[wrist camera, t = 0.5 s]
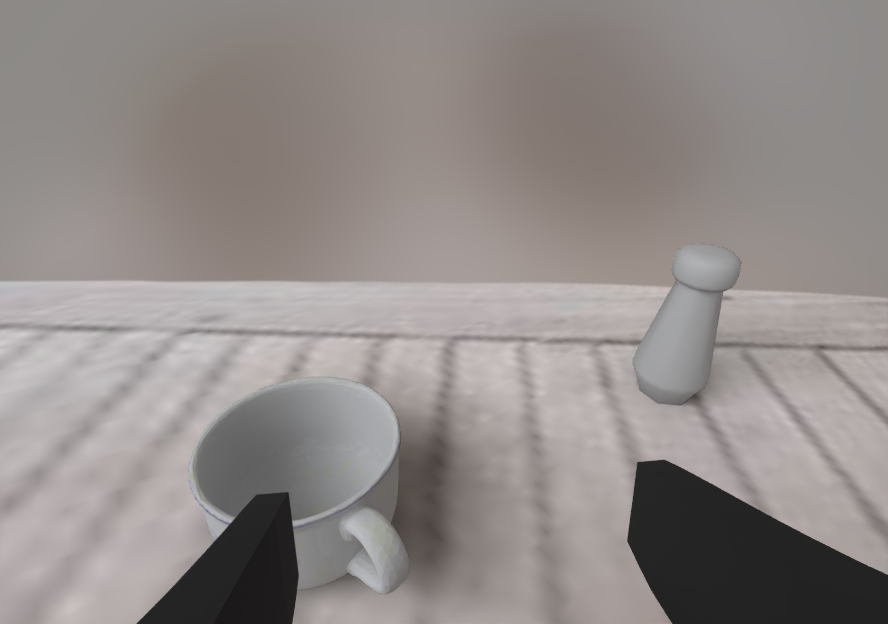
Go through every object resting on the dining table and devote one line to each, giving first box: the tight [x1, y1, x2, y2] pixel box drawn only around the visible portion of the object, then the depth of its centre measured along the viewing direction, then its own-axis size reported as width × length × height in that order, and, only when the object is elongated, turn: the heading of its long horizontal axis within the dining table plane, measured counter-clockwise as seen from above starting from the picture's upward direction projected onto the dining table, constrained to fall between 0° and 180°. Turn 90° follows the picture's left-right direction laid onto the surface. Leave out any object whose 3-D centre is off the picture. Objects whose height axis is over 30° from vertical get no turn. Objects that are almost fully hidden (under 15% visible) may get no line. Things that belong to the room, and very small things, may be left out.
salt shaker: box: [633, 243, 742, 405], centre depth 35 cm, size 6×6×13 cm
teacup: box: [188, 377, 410, 594], centre depth 25 cm, size 14×11×8 cm
